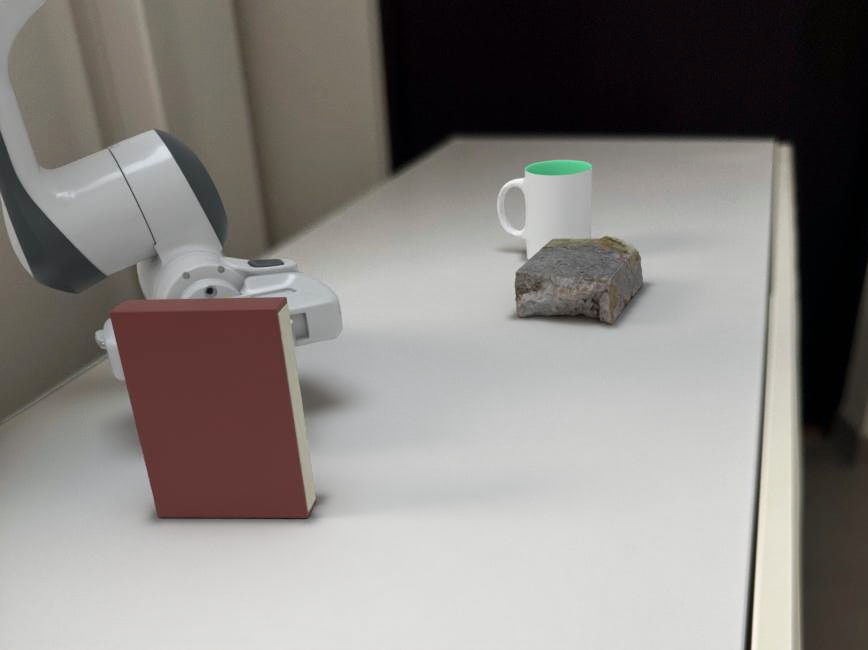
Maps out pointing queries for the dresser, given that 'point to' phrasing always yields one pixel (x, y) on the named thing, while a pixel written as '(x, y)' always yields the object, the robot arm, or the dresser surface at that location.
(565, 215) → the mug
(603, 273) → the geological specimen
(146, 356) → the book
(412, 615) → the dresser surface
